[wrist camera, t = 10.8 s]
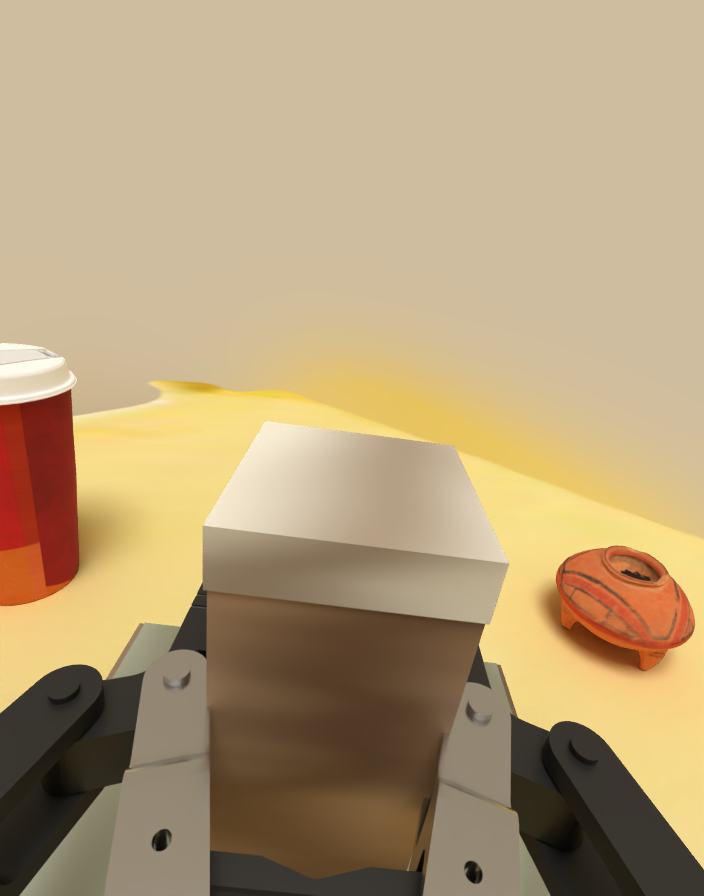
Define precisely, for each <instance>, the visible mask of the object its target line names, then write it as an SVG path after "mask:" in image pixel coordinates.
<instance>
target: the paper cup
mask: <svg viewBox="0 0 704 896" xmlns="http://www.w3.org/2000/svg"><path fill="white" fill-rule="evenodd" d="M76 382H77V379H76V377H75V376H74V374H73V373H72V372H71V371H69V370H68V366H67V363H66V361H65V359H64V358H63V357H61V356H60V355H58V354H56V353H54V352H52V351H49V350H47V349H46V348H43V347H37V346H31V345H21V344H8V343H0V606H11V605H20V604H25V603H29V602H33V601H36V600H39V599H42V598H45V597H47V596H49V595H51V594H53V593H55V592H57V591H59V590H60V589H62V588H63V587H64V586H66V585H67V584H68V583H69V582H70V581H71V580H72V579H73V578H74V576H75V575H76V573H77V571H78V566H79V539H78V516H77V483H76V463H75V450H74V436H73V418H72V400H71V388H73V387H74V386H75V385H76Z"/></svg>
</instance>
